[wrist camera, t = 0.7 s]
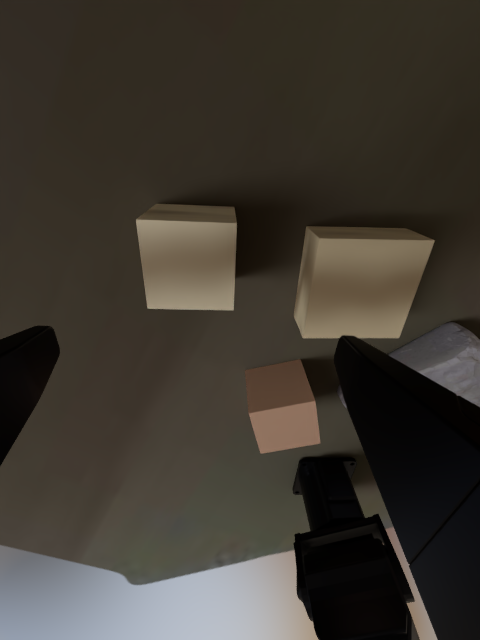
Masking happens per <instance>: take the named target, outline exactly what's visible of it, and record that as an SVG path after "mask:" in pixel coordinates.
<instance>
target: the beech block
mask: <svg viewBox="0 0 480 640" xmlns="http://www.w3.org/2000/svg"><path fill="white" fill-rule="evenodd" d="M136 224H137V231H138V239H139V247H140V254H141V262H142V269H143V277H144V284H145V292H146V300H147V307H148V309H190V310H234V286H235V260H236V234H237V221H236V214H235V208H234V207H226V206H201V205H177V204H155V205H154V206H153V207H151V208H150V209H149V210H148V211H146V212H145V213H144V214H142V215H141V216H140V217H139V218H137V219H136Z"/></svg>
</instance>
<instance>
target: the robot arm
mask: <svg viewBox="0 0 480 640" xmlns="http://www.w3.org/2000/svg"><path fill="white" fill-rule="evenodd" d="M59 354H60V348H59V344H58V341H57V338H56V335H55V332H54V329H53V328H52V327H50V326H34V327H32V328H29V329H26V330H24V331H21V332H19V333H16V334H13V335H11V336H8V337H6V338H3V339H1V340H0V466H1V464H2V462H3V461H4V459H5V457H6V456H7V454H8V452H9V450H10V449H11V447H12V445H13V444H14V442H15V440H16V439H17V437H18V435H19V433H20V432H21V430H22V428H23V427H24V425H25V423H26V422H27V420H28V418H29V416H30V415H31V413H32V411H33V410H34V408H35V406H36V405H37V403H38V401H39V399H40V397H41V395H42V393H43V391H44V389H45V387H46V384H47V382H48V380H49V378H50V375H51V373H52V371H53V369H54V366H55V364H56V362H57V360H58V357H59ZM334 363H335V367H336V371H337V375H338V379H339V382H340V386H341V390H342V394H343V397H344V401H345V404H346V407H347V409H348V412H349V414H350V417H351V420H352V422H353V425H354V427H355V430H356V432H357V435H358V437H359V440H360V442H361V445H362V447H363V450H364V453H365V455H366V458H367V460H368V463H369V465H370V468H371V470H372V473H373V475H374V478H375V481H376V483H377V486H378V488H379V491H380V493H381V496H382V498H383V501H384V503H385V506H386V509H387V511H388V514H389V516H390V519H391V521H392V524H393V526H394V529H395V531H396V534H397V537H398V539H399V542H400V544H401V547H402V549H403V552H404V554H405V557H406V559H407V562H408V564H410V565H409V567H410V570H411V573H412V575H413V578H414V580H415V583H416V585H417V588H418V591H419V593H420V596H421V598H422V600H423V603H424V606H425V608H426V611H427V613H428V616H429V618H430V621H431V623H432V626H433V629H434V631H435V634H436V636H437V639H438V640H480V407H479V406H477V405H475V404H473V403H472V402H470V401H468V400H466V399H465V398H463V397H461V396H457V395H456V393H454V392H452V391H450V390H449V389H447V388H445V387H443V386H442V385H440V384H438V383H436V382H434V381H433V380H431V379H429V378H427V377H426V376H424V375H422V374H420V373H419V372H417V371H415V370H413V369H412V368H410V367H408V366H406V365H405V364H403V363H401V362H399V361H398V360H396V359H394V358H392V357H391V356H389V355H387V354H385V353H384V352H382V351H380V350H378V349H377V348H375V347H373V346H371V345H369V344H368V343H366V342H364V341H362V340H361V339H359V338H357V337H355V336H352V335H342V336H341V337H340V338H339V341H338V344H337V348H336V351H335V355H334ZM356 465H357V462H356V460H355V459H354V458H322V459H301V460H300V461H299V464H298V469H297V473H296V477H295V481H294V485H293V494H295V495H303V499H304V504H305V508H306V513H307V517H308V522H309V526H310V532H306V533H302V534H300V533H298V534H295V543H294V549H295V556H296V566H297V595H298V598H299V599H300V600H301V601H302V602H303V603H304V606H305V608H306V611H307V614H308V616H309V619H310V620H311V621H313V623H314V629H315V632H316V635H317V637H318V639H319V640H420V639H419V636H418V634H417V631H416V628H415V625H414V622H413V619H412V617H411V614H410V611H409V608H408V606H407V603H410V602H414V597H413V594H412V592H411V589H410V587H409V584H408V582H407V579H406V577H405V574H404V572H403V569H402V567H401V565H400V562H399V560H398V558H397V555H396V553H395V551H394V548H393V546H392V544H391V542H390V539H389V537H388V535H387V532H386V530H385V528H384V526H383V523H382V521H381V519H380V517H379V514H375V515H373V516H372V517H368V518H365V517H364V514H363V511H362V509H361V506H360V504H359V501H358V498H357V496H356V493H355V490H354V488H353V485H352V482H351V480H350V479H351V477H352V474H353V472H354V469H355V467H356ZM383 544H384V545H383Z"/></svg>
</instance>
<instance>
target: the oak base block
mask: <svg viewBox="0 0 480 640" xmlns="http://www.w3.org/2000/svg"><path fill="white" fill-rule="evenodd" d="M434 242H435V240H433V239H430V238H428V237H426V236H423V235H421V234H418V233H416V232H414V231H411V230H409V229H407V228H370V227H320V226H306V232H305V239H304V246H303V253H302V260H301V268H300V275H299V282H298V289H297V296H296V303H295V310H294V318H295V320H296V322H297V325H298V327H299V330H300V332H301V334H302V337H303V338H340V337H341V336H342V335H352V336H355V337H357V338H399V337H400V334H401V332H402V329H403V326H404V323H405V321H406V318H407V315H408V313H409V310H410V307H411V304H412V302H413V299H414V296H415V293H416V291H417V288H418V285H419V283H420V280H421V277H422V274H423V272H424V269H425V266H426V263H427V261H428V258H429V255H430V253H431V250H432V247H433V244H434Z"/></svg>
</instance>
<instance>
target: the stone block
mask: <svg viewBox="0 0 480 640" xmlns="http://www.w3.org/2000/svg"><path fill="white" fill-rule="evenodd" d="M387 355H389V356H391V357H392V358H394V359H396V360H398V361H399V362H401V363H403V364H405V365H406V366H408V367H410V368H412V369H413V370H415V371H417V372H419V373H420V374H422V375H424V376H426V377H427V378H429V379H431V380H433V381H434V382H436V383H438V384H440V385H442V386H443V387H445V388H447V389H449V390H450V391H452V392H454V393H456V395H457V396H461V397H463V398H465V399H466V400H468V401H470V402H472V403H473V404H475V405H477V406H479V407H480V339H478V338H477V337H476V336H475V335H474V334H473V333H472V332H471V331H469V330H468V329H466V328H464V327H462V326H461V325H459V324H457V323H454V322H449V323H446V324H443V325H441V326H439V327H437V328H436V329H434V330H432V331H430V332H428V333H426V334H424V335H422V336H420V337H419V338H417V339H415V340H413V341H411V342H409V343H407V344H405V345H404V346H402V347H400V348H398V349H396V350H394V351H392V352H391V353H389V354H387ZM337 393H338V396H339V397H340V399H341V401H342V403H343V404H344V406H345V407H346V404H345V401H344V397H343V394H342V390H341V386H340V385H339V387H338V390H337ZM346 408H347V407H346Z"/></svg>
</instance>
